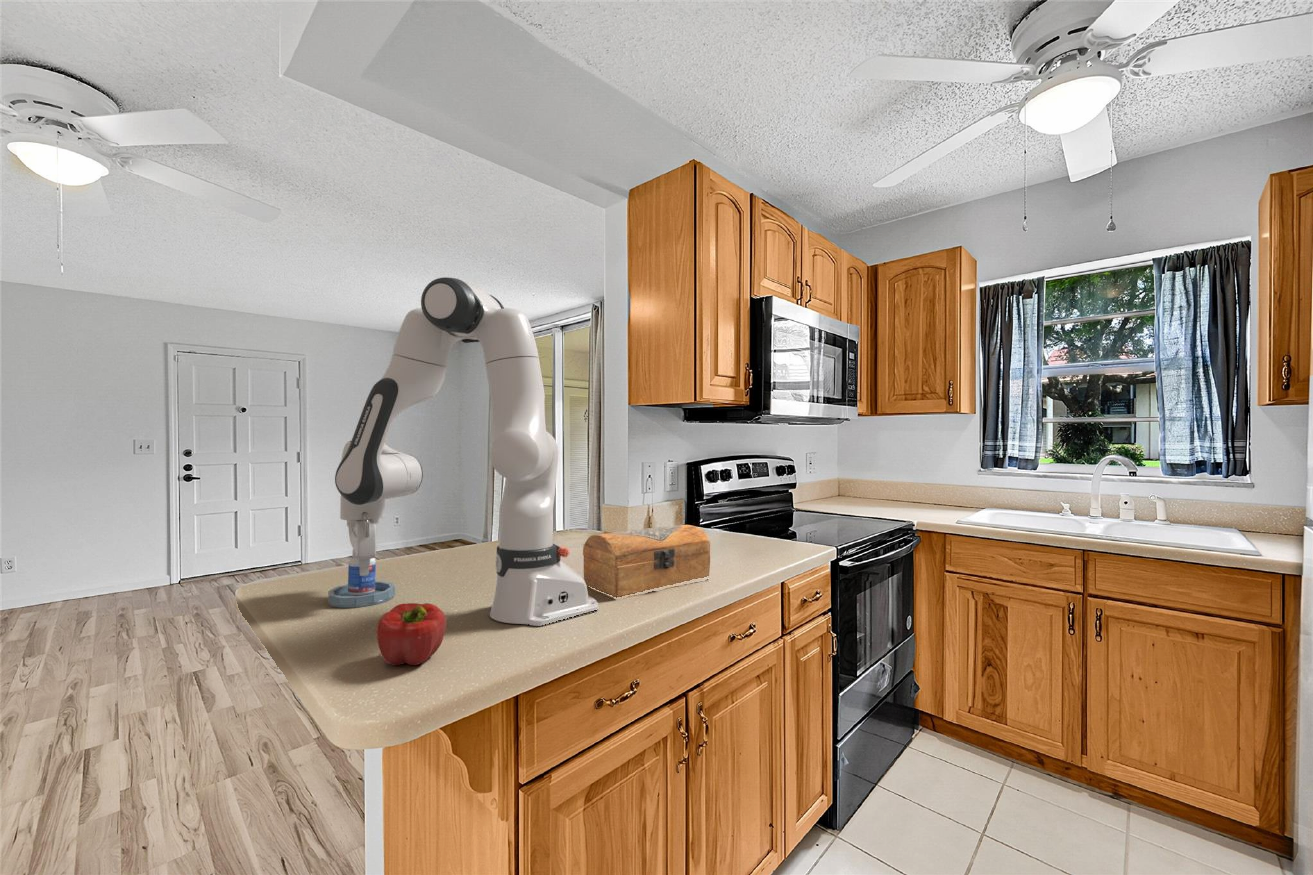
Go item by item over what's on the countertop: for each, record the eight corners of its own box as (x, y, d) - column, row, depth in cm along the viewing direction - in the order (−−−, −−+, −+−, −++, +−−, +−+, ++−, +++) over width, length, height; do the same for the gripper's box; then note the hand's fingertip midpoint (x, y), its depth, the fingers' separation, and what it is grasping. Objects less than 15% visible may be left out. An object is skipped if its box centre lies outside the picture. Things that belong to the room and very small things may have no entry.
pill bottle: (363, 596, 119) (363, 552, 119) (342, 594, 120) (342, 550, 120) (380, 589, 124) (381, 547, 124) (360, 588, 125) (360, 545, 125)
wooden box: (617, 602, 123) (618, 541, 122) (581, 585, 136) (581, 530, 136) (714, 582, 141) (715, 528, 141) (674, 569, 154) (675, 520, 154)
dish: (390, 587, 131) (390, 578, 131) (397, 601, 120) (398, 591, 120) (327, 595, 124) (327, 586, 124) (329, 611, 113) (329, 601, 113)
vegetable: (456, 663, 88) (457, 602, 88) (388, 682, 82) (389, 616, 82) (432, 644, 97) (433, 588, 97) (369, 659, 90) (369, 599, 90)
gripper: (384, 515, 115) (383, 580, 115) (373, 504, 132) (373, 560, 132) (350, 517, 112) (349, 584, 112) (344, 505, 129) (343, 564, 129)
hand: (362, 571), depth 122 cm, fingers closed on pill bottle, 5 cm apart
